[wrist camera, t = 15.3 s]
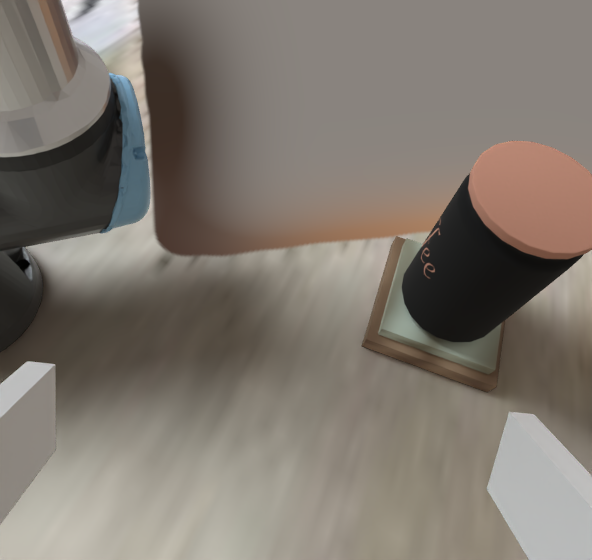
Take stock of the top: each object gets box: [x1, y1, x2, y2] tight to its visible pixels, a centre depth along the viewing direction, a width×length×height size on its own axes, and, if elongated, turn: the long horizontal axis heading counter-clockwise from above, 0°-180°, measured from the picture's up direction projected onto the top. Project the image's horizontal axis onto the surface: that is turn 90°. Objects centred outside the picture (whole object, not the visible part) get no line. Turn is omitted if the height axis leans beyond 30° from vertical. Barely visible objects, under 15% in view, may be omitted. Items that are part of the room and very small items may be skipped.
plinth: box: [362, 236, 505, 392], centre depth 52 cm, size 14×14×4 cm
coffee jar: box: [402, 141, 592, 342], centre depth 43 cm, size 11×11×18 cm
